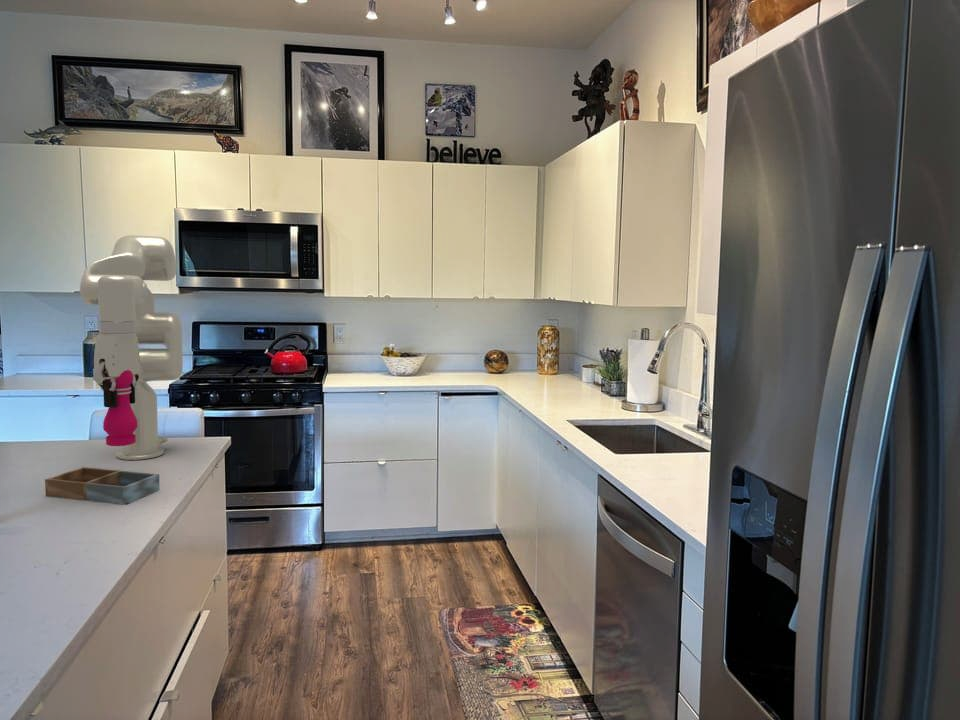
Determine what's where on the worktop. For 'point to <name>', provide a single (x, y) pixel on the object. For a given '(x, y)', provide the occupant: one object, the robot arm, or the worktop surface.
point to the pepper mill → (121, 414)
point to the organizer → (102, 485)
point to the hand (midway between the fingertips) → (119, 404)
